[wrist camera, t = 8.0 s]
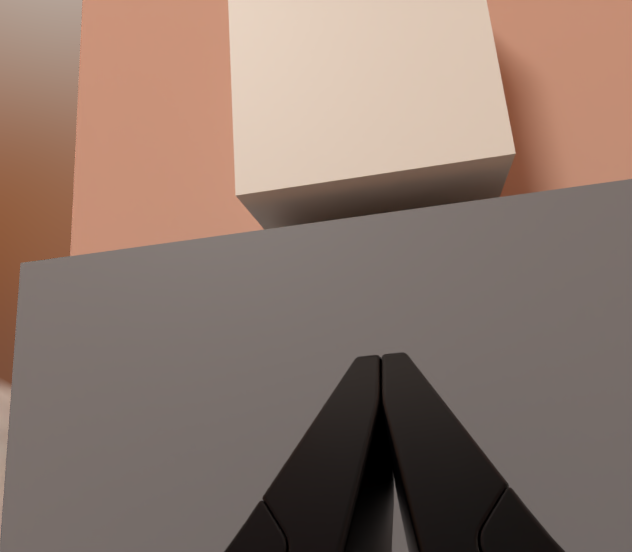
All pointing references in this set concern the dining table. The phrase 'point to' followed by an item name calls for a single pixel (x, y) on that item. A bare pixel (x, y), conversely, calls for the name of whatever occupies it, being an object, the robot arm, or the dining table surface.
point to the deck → (322, 366)
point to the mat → (217, 122)
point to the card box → (364, 107)
